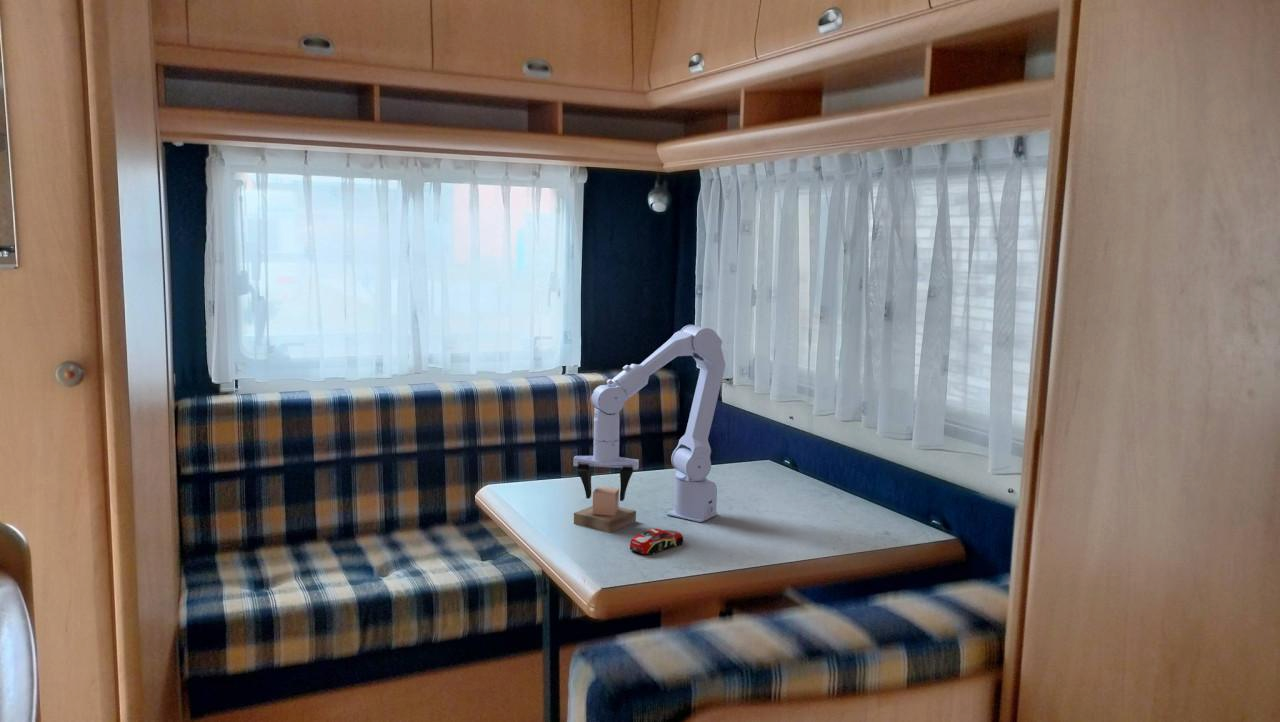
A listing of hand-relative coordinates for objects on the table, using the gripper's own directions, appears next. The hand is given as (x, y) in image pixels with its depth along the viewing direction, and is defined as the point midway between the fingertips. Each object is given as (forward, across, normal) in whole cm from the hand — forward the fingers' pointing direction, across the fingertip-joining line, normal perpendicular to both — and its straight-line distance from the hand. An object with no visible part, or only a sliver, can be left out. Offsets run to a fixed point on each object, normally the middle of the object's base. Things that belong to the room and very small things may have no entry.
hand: (605, 498), depth 208 cm
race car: (+6, -14, +14) cm, 20 cm away
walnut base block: (+6, 0, 0) cm, 6 cm away
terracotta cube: (+3, 0, 0) cm, 3 cm away
